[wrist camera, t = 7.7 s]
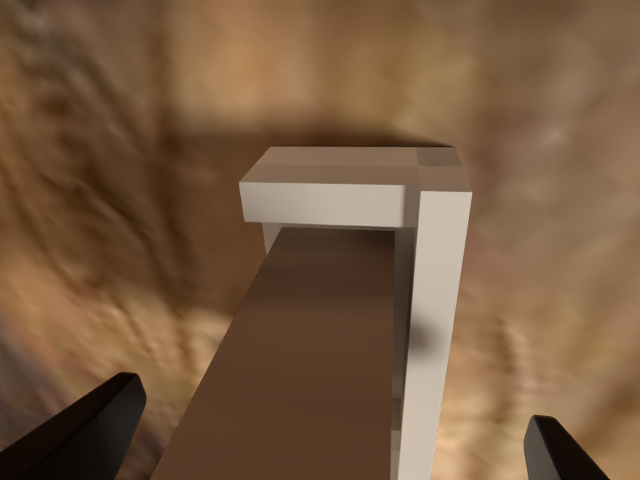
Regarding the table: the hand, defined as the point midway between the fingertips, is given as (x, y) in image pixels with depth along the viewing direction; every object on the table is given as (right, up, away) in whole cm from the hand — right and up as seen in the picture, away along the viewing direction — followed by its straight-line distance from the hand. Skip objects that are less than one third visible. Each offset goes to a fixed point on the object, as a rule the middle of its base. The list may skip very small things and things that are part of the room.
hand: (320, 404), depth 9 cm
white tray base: (+1, -1, +6) cm, 6 cm away
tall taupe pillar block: (+1, +2, +3) cm, 3 cm away
